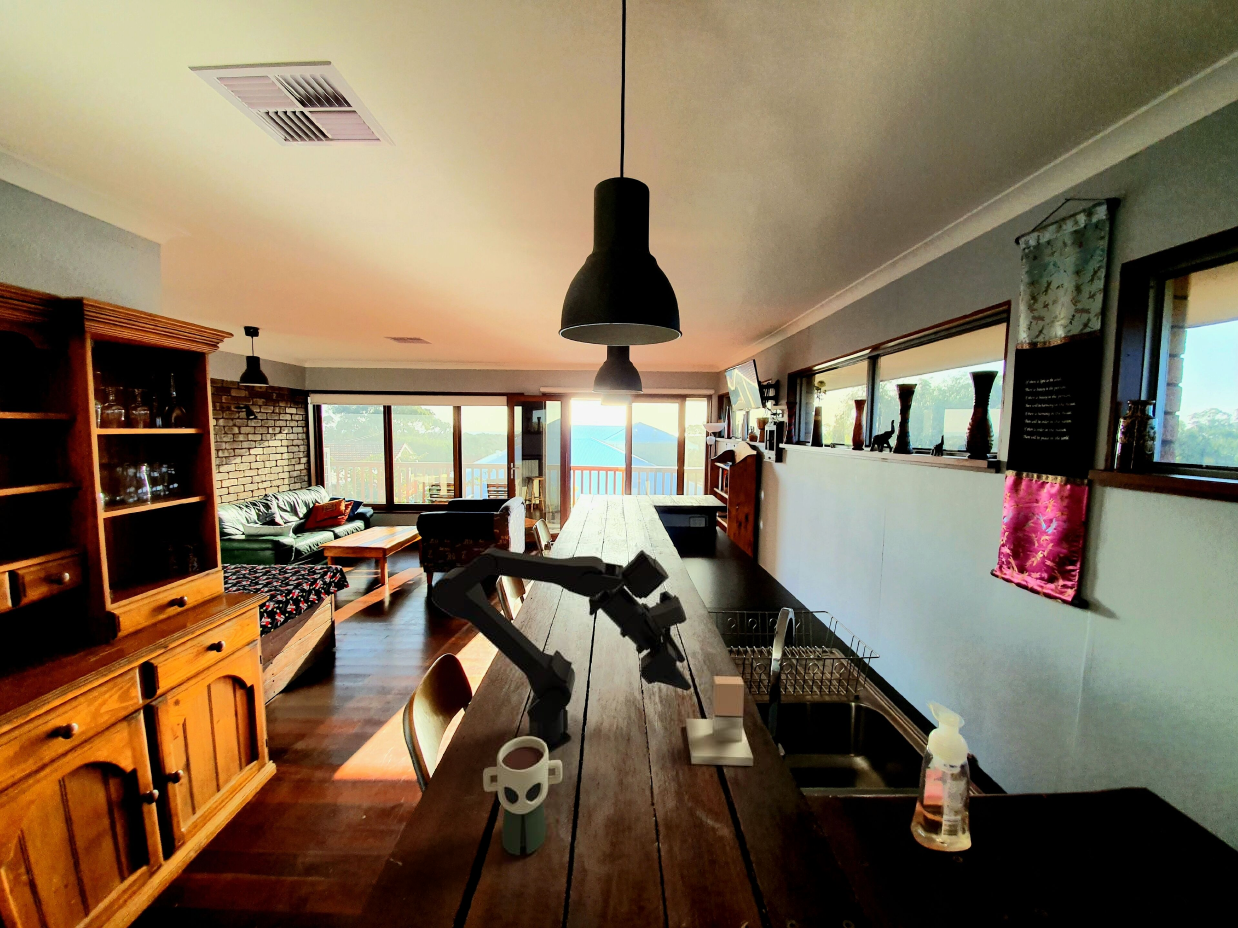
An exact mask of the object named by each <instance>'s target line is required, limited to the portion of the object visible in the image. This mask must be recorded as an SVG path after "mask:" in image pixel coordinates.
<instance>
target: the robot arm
mask: <svg viewBox="0 0 1238 928" xmlns="http://www.w3.org/2000/svg"><path fill="white" fill-rule="evenodd" d="M490 575H495V576H502V577H507V578H514V579H515V578H516V579H520V580H521V579H522V580H527V581H528V580H529V581H534V582H541V583H547V584H554V585H557V586H560V587H561V588H563V589H564V590H566V591H568V592H570V593H572V594H575V595H578V596H581V597H584V598H588V604H589V611H588V615H589V616H590V617H592V616H594V615H595V614H596V613H597V612H598V611H599V610H601V611H602V612H603V614H605V615H606V617H608V618H609V619H610V620H611V621H612V623H614V625H616V627H618V628H619V630H620V632H619V635H620V636H621V637H622V638H623V639H624V638H626V637H627V638H628V639H629V640H630V641H631V642H632V643H633V644H634V645H635V651H636V652H637V653H638V654H639V655H642V653H644V652H645V651H647V652H646V653H645V654H644V655H643V656H642V657H641V658H640V677H641V678H642V679H643V680H644V681H645V682H646V683H647V684H648V685H652V684H655V683H659V684H663V685H667V686H670V687H673V688H677V689H680V690H683V691H686V692H688V691H690V690H691V689H692V687H693V686H692V685H691V683H690V682H689V680H688V678H687V677H686V676H685V674H684V673H683V672H682V670H681V669H680V667H679V665H678V664H677V663H680V664H683V663H684V662H685V661H686V657H685V656H684V654H683V653H682V650H681V649H680V648H679V645H678V644H677V642H676V641H675V639H674V637H673V636H672V634H671V633H672V632H671V630H672V629H671V628H672V627H673V626H675V625H678V624H679V625H681V624H683V623H685V622H686V621H687V619H688V618H687V616H686V612H685V609H684V607H683V605H682V603H681V600H680V599H679V598H680V597H678V596H677V595H676V594H674V595H673V594H671V593H670V592H669V591H668V590H665V591H663V592H660V593H659V601H657V602H655V605H652V606H650V605H648V603H646V602H645V603H644V602H642V603H640V602H639V600H637V599H640V600H641V599H647V598H648V597H649V596H650V595H651V594H652V593H654V592H655V591H656V590H657V589H658V588H659V587H660V586H661V585H662V584H664V583H665V582H666V581H667V580H668V579H669V578H670V576H669V574H668V571H666V570H665V568H664V566H662V564H661V563H660V562H659V561H658V560H657V559H656V558H654V557H652V556H651V555H650V554H647V552H646V551H644V550H643V549H640V551H638V552H637V554H636V555H635V556H634V557H633V558H632V559H631V560H630V561H629V562H628V563H627V564H626V565H625V566H624V565H623V564H616V563H612V562H611V563H610V562H604V561H603V559H602V558H600V557H599V556H594V555H587V556H586V555H585V556H583V555H582V556H581V555H580V556H572V557H566V558H558V557H549V556H543V555H537V554H532V553H531V554H530V553H524V552H516V551H510V550H504V549H503V550H502V549H499V548H496V547H489V548H487V549H486V550H485V551H484V552H482V553H481V554H480V555H479V556H477V557H476V558H475V559H473V560H471V562H469V563H468V564H467V565H465V566H464V567H455V568H452V569H451V570H450V571H448V572H447V573H446V574H445V575H444V576H442V577H441V578H440V579H439V580H438V581H436V582H435V584H434V585H433V587H432V590H431V600H432V602H433V603H434V605H435V606H436V607H438V608H439V609H441V610H442V611H443V612H444V613H446V614H448V615H449V616H451V617H454V618H457V619H460V620H463V621H466V622H469V623H470V624H471V625H472V626H473V627H474V628H476V631H478V632H479V633H480V634H482V635H483V637H485V638H486V639H487V640H488V641H489V642H490V643H491V644H492V645H493V646H494V647H495V648H496V649H497V650H498V651H499V652H500V653H501V654H502V655H504V656H505V657H506V658H507V659H508V660H509V661H510V662H511V663H513V665H515V667H516V668H517V669H519V670H520V671H521V672H522V673H523V674H524V676H526V677H525V678H526V679H527V681H528V684H529V686H530V689H531V691H532V693H533V694H532V696H531V700H530V703H529V704H528V705H529V706H528V708H527V711H526V714H527V718H528V726H529V727H528V732H527V733H526V734H524V736H532V737H536V738H539V739H541V740H542V741H543V742H544V743H546V745H547V748H548V754H549V753H551V752H553V751H555V750H556V749H558V748H559V747H561V746H563V745H565V744H567V743H568V742H570V741H571V740H572V735H571V734H569V733H568V731H569V715H568V714H569V713H568V709H567V707H568V705H569V704H570V703H571V700H572V696H573V695H572V694H573V691H574V687H575V686H574V685H575V683H576V671H575V670H574V667H572V666H573V662H571V661H569V660H568V659H566V658H565V657H564V656H563V655H562V653H561V652H560V651H559V650H558V649H557V650H555V651H554V653H553V654H549V653H547V652H544V651H542V650H541V649H540V648H539V647H537V645H536V644H535V643H534V642H532V641H531V640H530V639H529V638H528V637H527V636H526V634H524V633H523V631H521V630H520V629H519V628H518V627H517V626H516V625H514V624H513V623H512V621H510V620H509V619H508V618H507V617H506V616H505V615H504V614H503V613H501V611H499V610H498V608H496V607H495V606H494V605H493V604H492V603H491V602H490V601H489V600H488V598H487V596H486V593H485V591H484V588H483V586H482V584H481V582H482V581H483V580H484V579H486V578H487V577H489V576H490Z"/></svg>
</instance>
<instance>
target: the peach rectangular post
mask: <svg viewBox="0 0 1238 928" xmlns="http://www.w3.org/2000/svg"><path fill="white" fill-rule="evenodd" d="M744 687H745V684H744V682H743V678H742V677H741V676H720V675H719V676H718V675H717V676H715V675H714V676H713V689H712V690H713V691H712V693H713V694H712V710H713V709H714V713H715V715H724V716H743V717H744V700H745V699H744V697H745V695H744V693H745V688H744Z"/></svg>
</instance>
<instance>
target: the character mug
mask: <svg viewBox="0 0 1238 928" xmlns="http://www.w3.org/2000/svg"><path fill="white" fill-rule="evenodd" d="M551 769H555V775H550V773H549V771H550V770H551ZM491 776H497V778H496V779H497V782H496V781H495V782H491ZM482 779H483V784H482V785H483V787H482V788H483V789H484V792H496V791H497V796H498V800H499V802H500V804H501V805H502V807H503V808H504V812H503V818H502V827H501V840H502V841H501V843H502V846H503V848H504V849H505V850H506V851H507V853H508V854H512V855H515V856H520V855H521V847H526V849H525V851H526V855H527V854H531V853H533V852H534V851H537V850H538V849H539V848H540V846H541V845H542V844H543V843H544V842H545V840H546V834H547V830H548V829H547V820H546V814H545V809H544V803H543V802H544V800H545V799H546V796H547V794H548V792H549V791H548V790H549V787H550V785H554V784H560V783H561V782H562V780H563V763H562V761H561V760H560V759H552V760H550V758H549V753H548V748H547V745H546V743H544V742H543V741H542V740H541V739H539V738H536V737H532V736H525V735H524V736H519V737H516V738H513V739H511V740H510V741H507V742H506V743H505V744H504V745H502V747H500V748H499V751H498V753H497V755H496V766H489V767H486V768H484V770H483V773H482Z"/></svg>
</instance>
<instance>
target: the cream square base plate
mask: <svg viewBox="0 0 1238 928" xmlns="http://www.w3.org/2000/svg"><path fill="white" fill-rule="evenodd" d="M743 719H744V715H743V716H724V715H715V713H714V709H713V708H712V718H711V719H710V718H709V719H707V718H685V727H686V728H685V729H686V735H687V740H688V747H689V748H688V749H689V752H690V753H689V754H690V760H691V765H693V764H694V765H717V766H718V765H719V766H720V765H721V766H722V765H723V766H749V767H750V766H751V767H752V766H754V756H753V754H752V750H751V747H750V745H749V742H748V739H747V735H746V733H745V729H744V725H743V723H744V721H743Z"/></svg>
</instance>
